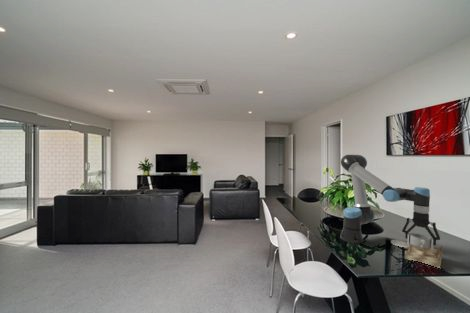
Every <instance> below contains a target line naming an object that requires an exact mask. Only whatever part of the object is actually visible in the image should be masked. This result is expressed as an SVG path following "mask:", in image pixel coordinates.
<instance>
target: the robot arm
mask: <svg viewBox="0 0 470 313" xmlns="http://www.w3.org/2000/svg"><path fill="white" fill-rule="evenodd" d="M340 165H341V167H342V168H343V169H344V170H345V171H346V172H348V173H350V175H351V181H352V182H351V183H352V187H353V190H352V191H353V195H354V196H353V198H354V202H355V203H354V205H353V206H351V207H349V206H348V207H345V208H344V210H343V224H342V226H343V227H342V230H341V232H340V240H342V241H343V242H346V243H350V244H357V245H358V244H362V243H363V242H364V236H363V233H362V225H365V224H367V225H368V224H369V223H372V222H373V221H374V220H375V212H374V210H373V209H372V208H371V205H370V204H369V203H368V196H367V189H366V184H367V185H368V186H370V187H371V188H372V189H373V190H374V191H375V190H376V191H377V192H378V193H379V194H380V195H382V197H383V199H384V200H385V201H387V202H391V203H392V202H393V203H394V202H398V201H400V202H401V201H408V202H413V214H412V216H413V217H412V218H410V217H407V218H406V222H405V224H404V226H403V228H402V230H401V231H402V233H404V234H405V237H404V238H405V239H407V240H406V242H407V244H408V245H409V243H410V241H409V238H410V233H411V231H412V230H413V229H414V228H415V227H418V228H424V229H425V230H426V231H427V233H428V234H429V236H430V238H432V243H431V247H430V248H431V250H432V251H433V248H434V246H436V245H437V241H440V240H441V236H440V234H439V232H438V229H437V226H436V224H437V223H436V222H433V221H432V222H431V221H430V214H429V213H430V201H431V200H430V199H431V195H430V194H431V193H430V189H429V188H427V187H422V186H420V187H419V186H415V187H414V188H413V189H410V188H409V189H408V188H404V187H403V188H401V187H392V186H391V185H389V184H388V183H387V182H385V181H384V180H382V179H380V178H379V177H377V176H376V175H375V174H373V173H372V172H370V171H369V170H367V169H366V167H367V165H368V161H367V159H366V157H365V156H364V155H360V154H346V155H344V156H342V158H341V159H340ZM410 222H412V223H413V224H412V225H411V226H410V227H409V228H408V226H409V224H410ZM429 225H430V226H431V227H432V229H433V231H434V232H433V231H432V230H431V229H430V228H429ZM407 228H408V229H407ZM406 229H407V230H406Z"/></svg>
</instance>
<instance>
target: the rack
mask: <svg viewBox="0 0 470 313" xmlns="http://www.w3.org/2000/svg"><path fill="white" fill-rule="evenodd" d="M442 259H443V246H442V245H439V249H436V248H434V247H433V251H432V250H431V247H430V249H427V250H420V249H417V248H414V247H413V246H412V245H411V244H410V242H409V248H408V249H407V250H404V260H409V261H411V260H413V261H412V262H414V261H418V262H422V263H425V264H428V265H431V266H434V267H433V268H435V267H437V268H436V269H438V268H440V269H441V267H440V266H442V261H441V260H442ZM418 262H417V263H418ZM428 265H427V266H428ZM431 266H430V267H431Z"/></svg>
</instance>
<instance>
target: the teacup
mask: <svg viewBox="0 0 470 313" xmlns="http://www.w3.org/2000/svg"><path fill="white" fill-rule="evenodd" d="M409 234H410V238H409V243H410V244H411V245H412V246H413V247H414V248H417V249H420V250H427V249H430V248H431V243H432V239H433V238H432V237H431V236H427V235H425V234H421V233H415V232H409Z"/></svg>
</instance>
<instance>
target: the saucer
mask: <svg viewBox="0 0 470 313" xmlns="http://www.w3.org/2000/svg"><path fill="white" fill-rule="evenodd" d="M390 243H391V245H393V246H396V247H398V246H399V248H402V247H404V249H409V245H408V244H407V241H403V240H399V239H392V240H391V239H390Z"/></svg>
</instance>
